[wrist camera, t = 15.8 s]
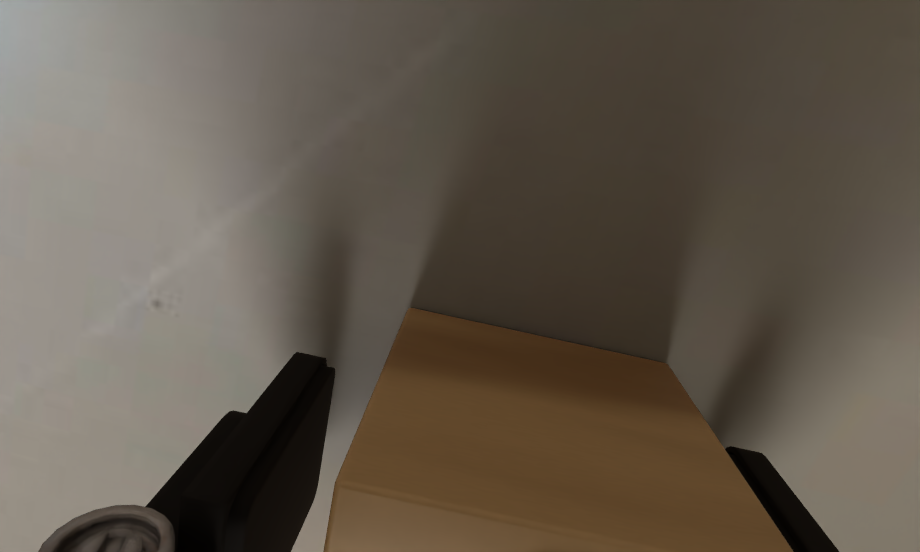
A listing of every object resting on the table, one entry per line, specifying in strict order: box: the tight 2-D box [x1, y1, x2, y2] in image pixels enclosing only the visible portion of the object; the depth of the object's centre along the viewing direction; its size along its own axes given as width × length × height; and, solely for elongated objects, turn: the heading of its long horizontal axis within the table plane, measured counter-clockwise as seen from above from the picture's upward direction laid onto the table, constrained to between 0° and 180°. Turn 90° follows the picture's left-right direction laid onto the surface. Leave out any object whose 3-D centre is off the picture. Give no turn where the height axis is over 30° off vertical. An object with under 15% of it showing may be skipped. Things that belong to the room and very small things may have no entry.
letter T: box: [324, 308, 793, 552], centre depth 8 cm, size 5×5×5 cm
